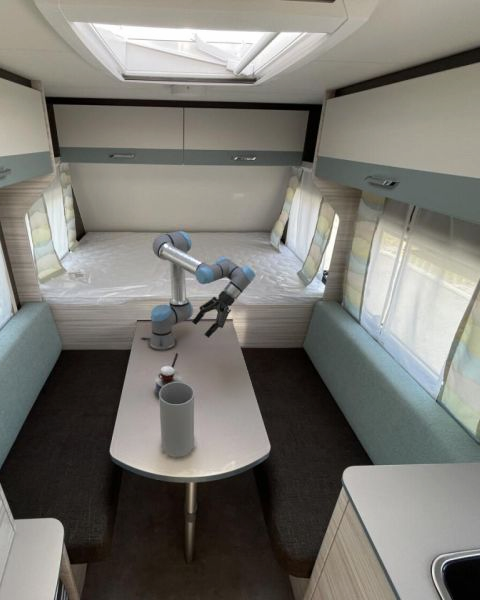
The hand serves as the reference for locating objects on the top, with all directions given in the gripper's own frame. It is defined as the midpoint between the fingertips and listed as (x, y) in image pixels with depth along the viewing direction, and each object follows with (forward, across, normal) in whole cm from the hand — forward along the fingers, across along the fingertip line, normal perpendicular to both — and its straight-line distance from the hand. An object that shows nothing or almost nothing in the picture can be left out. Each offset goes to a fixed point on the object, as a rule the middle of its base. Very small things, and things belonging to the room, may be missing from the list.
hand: (199, 329), depth 152 cm
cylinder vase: (+38, -34, -2) cm, 51 cm away
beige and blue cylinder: (+32, -3, -8) cm, 33 cm away
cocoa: (+27, -3, -2) cm, 27 cm away
